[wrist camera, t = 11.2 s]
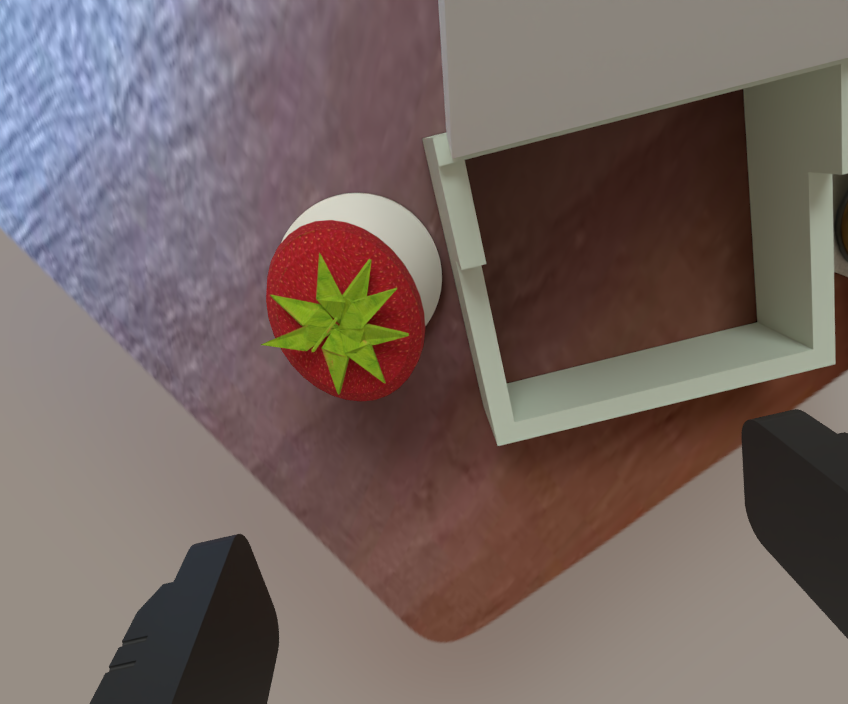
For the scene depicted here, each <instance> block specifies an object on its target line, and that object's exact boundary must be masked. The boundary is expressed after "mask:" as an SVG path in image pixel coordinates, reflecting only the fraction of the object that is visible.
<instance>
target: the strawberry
mask: <svg viewBox="0 0 848 704" xmlns="http://www.w3.org/2000/svg"><path fill="white" fill-rule="evenodd" d="M266 303H267V310H268V317H269V321H270V324H271V327H272V330H273V334H274V336H275V339H273V340H271V341H268V342H266V343H264V344H261V345H266V346H273V347H280V348H281V350H282V352H283V353H284V354H285V356H286V357H287V359H288V360H289V362H290V363H291V365H292V366H293V367H294V368H295V369H296V370H297V371H298V372H299V373H300V374H301V375H302V376H303V377H304V378H305V379H307V380H308V381H309V382H310V383H312V384H313V385H314V386H316V387H317V388H319V389H321V390H323V391H325V392H326V393H328V394H330V395H333V396H336V397H339V398H342V399H345V400H353V401H369V400H376V399H379V398H382V397H385V396H387V395H389V394H391V393H392V392H394V391H395V390H397V389H399V387H400V386H401V385H402V384H403V383H404V382H405V381H406V380H407V379H408V378H409V376H410V375H411V373H412V371H413V369H414V368H415V366H416V364H417V363H418V361H419V358H420V355H421V352H422V349H423V345H424V337H425V316H424V310H423V306H422V301H421V297H420V294H419V292H418V289H417V287H416V284H415V282H414V279H413V278H412V276H411V274H410V273H409V271H408V269H407V268H406V266H405V264H404V263H403V262H402V261H401V259H400V258H399V257H398V256H397V255H396V253H395V252H394V251H393V250H392V249H391V248H390V247H389V246H388V245H387V244H385V243H384V242H383V241H382V240H381V239H380V238H378V237H377V236H375V235H373V234H372V233H370V232H369V231H367V230H365V229H364V228H361V227H358V226H356V225H353V224H350V223H348V222H342V221H335V220H324V221H314V222H312V223H309V224H306V225H303V226H300V227H299V228H298V229H296V230H295V231H293V232H292V233H290V234H289V235H288V236H287V237H286V238H285V239H284V240H283V242H282V243H281V244H280V245H279V246H278V248H277V250H276V252H275V254H274V256H273V258H272V260H271V264H270V268H269V272H268V276H267V295H266Z"/></svg>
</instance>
